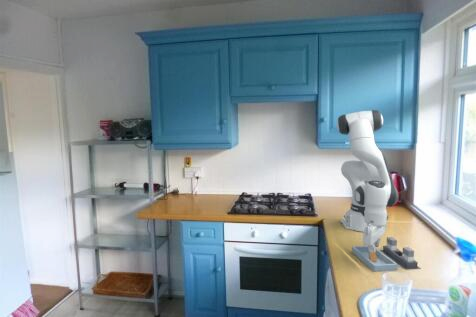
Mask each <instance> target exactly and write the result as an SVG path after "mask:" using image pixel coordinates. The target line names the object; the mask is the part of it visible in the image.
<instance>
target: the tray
mask: <svg viewBox="0 0 476 317" xmlns="http://www.w3.org/2000/svg"><path fill="white" fill-rule="evenodd" d="M351 252H352V253H353V255H355V256H356V257H357V258H358V259H360V260H361V262H362V263H364V264H365V265H366V266H367V267H369V269H371V271H373V272H375V273H377V272H393V271H398V269H399V268H398V267H399V265H398V264H397V263H396V262H394V261H393V260H392V259H390V258H389V257H388V256H386V255H385V254H384V253H382V252H381V251H380V249H378V248H376V260H377V262H372V261H370V259H369V252H368V246H367V245H354V246H351Z"/></svg>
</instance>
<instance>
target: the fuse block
mask: <svg viewBox="0 0 476 317" xmlns="http://www.w3.org/2000/svg"><path fill="white" fill-rule="evenodd" d="M379 251H381V252H382V253H383V254H385V255H386V256H387V257H389V258H390V259H391V260H393V261H394V262H395V263H397V264H398V266H400V267H401V268H402V269H404V270H406V271H408V270H409V271H410V270H421V269H422V268H421V267H420V266H419V265H418V263H419V262H418V261H416V260H415V259H414V260H413V262H407V261H406V260H404V259H403V258H402V253H403V250H402V251H401V250H400V249H398V248H397V249H396V250H390V249H389V248H387V245H383V246H382V249H379Z"/></svg>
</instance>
